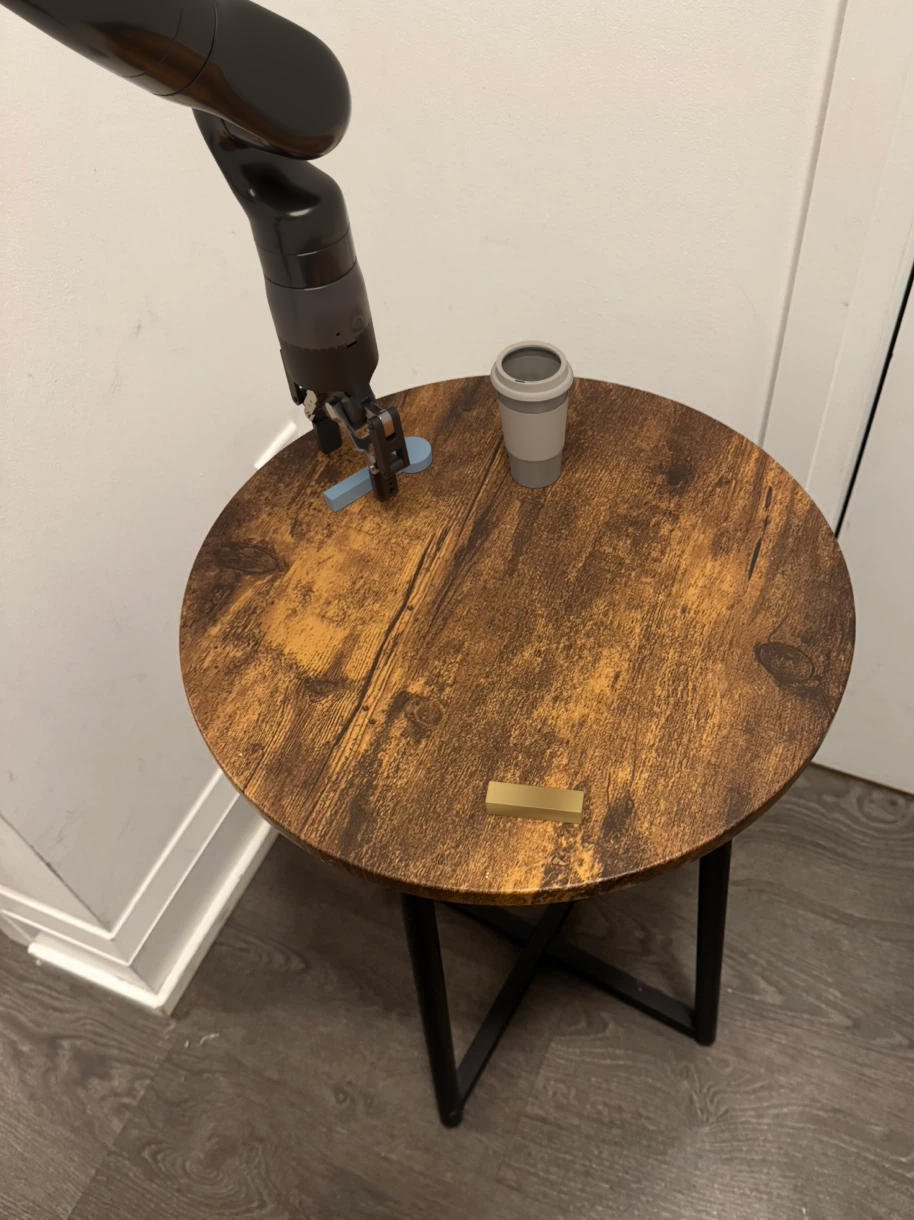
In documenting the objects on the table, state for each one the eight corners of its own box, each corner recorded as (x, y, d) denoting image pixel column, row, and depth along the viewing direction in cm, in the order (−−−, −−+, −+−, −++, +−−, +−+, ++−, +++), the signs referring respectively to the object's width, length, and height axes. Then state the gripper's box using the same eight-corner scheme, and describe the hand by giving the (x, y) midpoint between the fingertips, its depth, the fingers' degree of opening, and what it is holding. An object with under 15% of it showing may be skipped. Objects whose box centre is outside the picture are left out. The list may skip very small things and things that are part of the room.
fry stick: (486, 814, 76) (485, 801, 75) (490, 793, 77) (489, 780, 76) (581, 824, 75) (581, 812, 74) (584, 803, 76) (584, 791, 75)
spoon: (342, 519, 94) (339, 506, 92) (318, 498, 95) (314, 485, 94) (440, 460, 98) (438, 446, 96) (416, 440, 99) (413, 427, 98)
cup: (487, 486, 96) (476, 377, 86) (513, 440, 99) (506, 330, 89) (559, 503, 94) (557, 395, 84) (583, 456, 97) (584, 346, 88)
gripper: (231, 296, 82) (281, 453, 96) (335, 379, 76) (373, 535, 90) (309, 257, 85) (346, 416, 98) (416, 334, 79) (440, 492, 92)
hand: (359, 472), depth 94 cm, fingers open, 8 cm apart
